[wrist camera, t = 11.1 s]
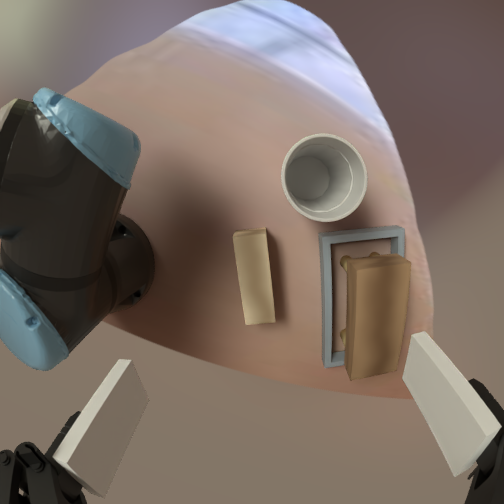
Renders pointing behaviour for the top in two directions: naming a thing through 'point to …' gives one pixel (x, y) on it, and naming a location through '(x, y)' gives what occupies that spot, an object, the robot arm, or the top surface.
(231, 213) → the top surface
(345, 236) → the frame
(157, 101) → the top surface
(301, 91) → the top surface
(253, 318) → the block
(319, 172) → the cup
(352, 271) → the board
